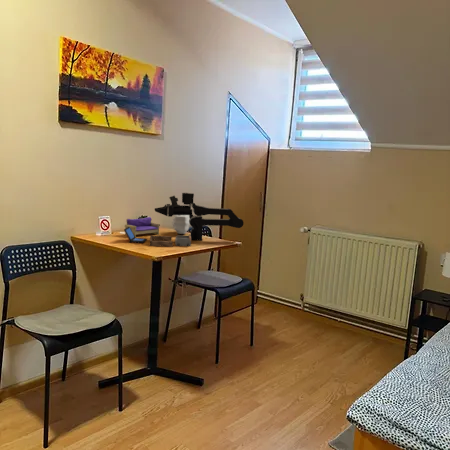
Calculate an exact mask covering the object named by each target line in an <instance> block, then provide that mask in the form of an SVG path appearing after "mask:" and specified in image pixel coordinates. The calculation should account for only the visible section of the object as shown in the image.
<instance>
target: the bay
mask: <svg viewBox="0 0 450 450" xmlns="http://www.w3.org/2000/svg"><path fill="white" fill-rule="evenodd" d="M172 239H173V236H169V235H150V237H149V247H150V246H151V247H167V248H168V247H170V248H172V247H173V241H172Z"/></svg>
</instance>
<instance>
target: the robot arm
mask: <svg viewBox="0 0 450 450" xmlns="http://www.w3.org/2000/svg"><path fill="white" fill-rule="evenodd" d="M194 196H195V194H194V193H192V192H190V193H189V192H181V203H182V204H183V205H180V204H178V201H179V199H178V197H176V196H175V195H171V196H169V197H168V198H169V200H170V203H166V204H164V205H163V206H160V207H156V208H154V211H155V212H156V213H158V214H160V215H164V216H166V217H169V218H170V217H174V215H189V218H190V219H189V223H190V225H189V226H191V231H190V236H191V241H203V232H204V231H203V228H204V226H213V227H214V226H218V227H219V226H224V227H225V226H226V227H227V226H228V227H230V228H231V227H232V228H237V229H241V228H242V227H244V224H245V223H244V220H243V219H242V218H240V217H238V216H237V214H235V212H234V211H233V210H232V209H231V208H221V207H220V208H218V207H216V208H215V207H207V206H203V205H199V204H195V203H194ZM206 215H213V216H227V217H228V218H203V216H206Z"/></svg>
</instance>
